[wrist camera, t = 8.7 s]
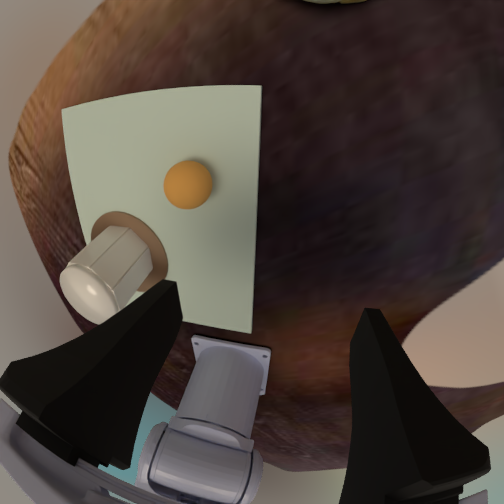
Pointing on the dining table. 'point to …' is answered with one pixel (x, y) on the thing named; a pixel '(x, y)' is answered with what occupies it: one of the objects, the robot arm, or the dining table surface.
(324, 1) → the seashell
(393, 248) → the dining table surface
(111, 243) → the cup
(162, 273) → the coaster
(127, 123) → the placemat
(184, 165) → the ball
